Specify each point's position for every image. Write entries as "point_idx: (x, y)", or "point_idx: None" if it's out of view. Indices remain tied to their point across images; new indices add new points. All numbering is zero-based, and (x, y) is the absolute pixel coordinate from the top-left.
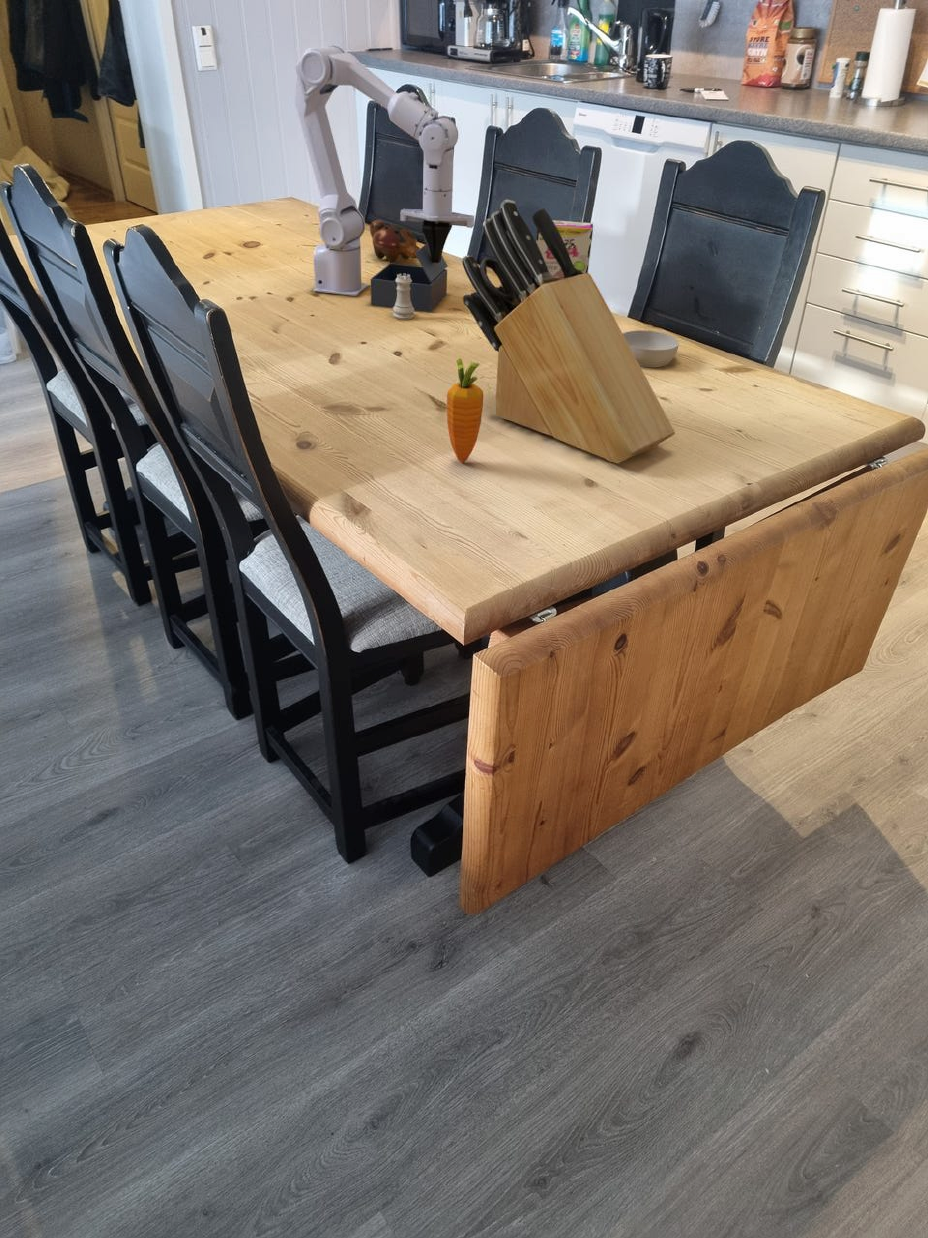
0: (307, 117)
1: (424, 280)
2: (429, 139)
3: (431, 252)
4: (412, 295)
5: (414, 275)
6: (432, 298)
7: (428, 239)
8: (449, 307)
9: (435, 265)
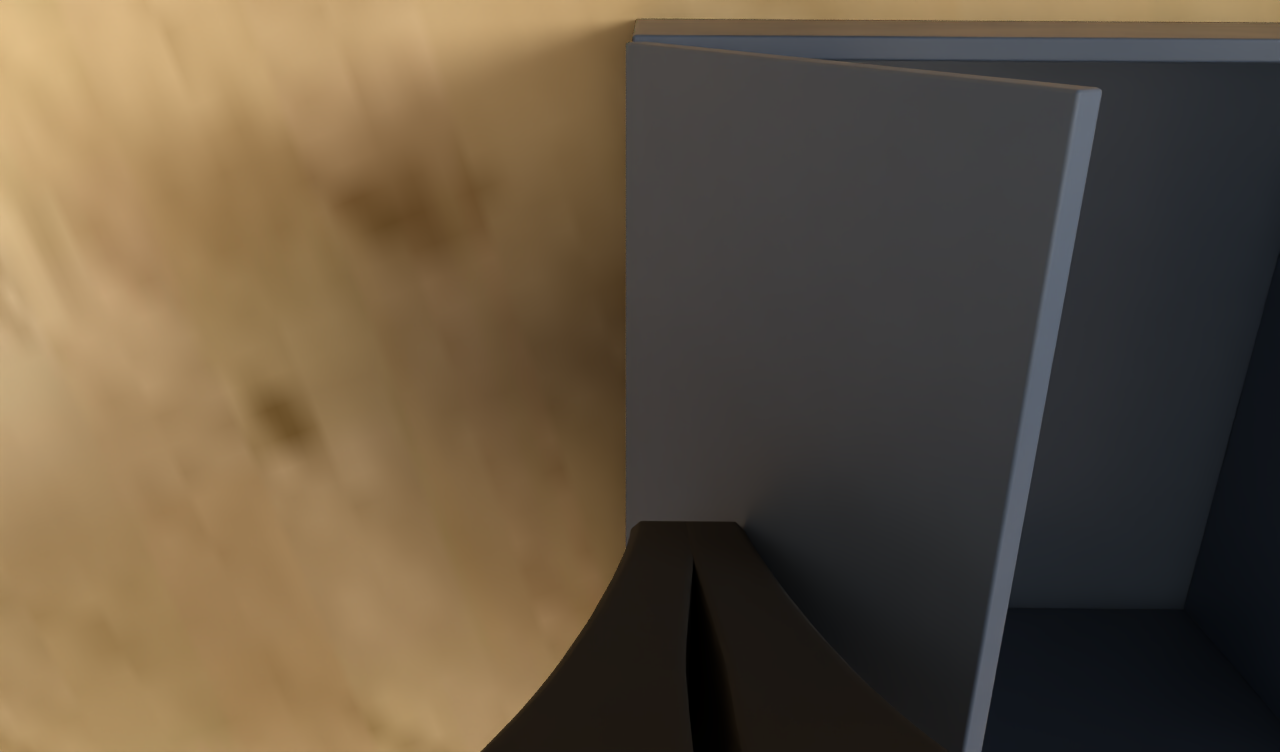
0: None
1: None
2: None
3: (763, 584)
4: (890, 28)
5: (994, 701)
6: None
7: (882, 739)
8: (495, 265)
9: None
